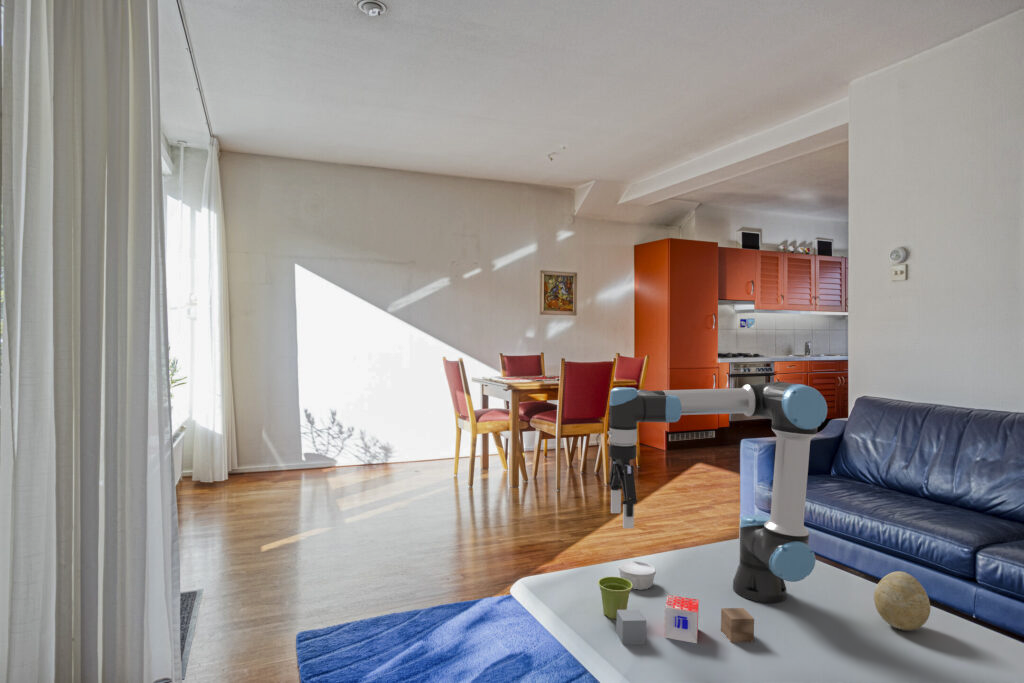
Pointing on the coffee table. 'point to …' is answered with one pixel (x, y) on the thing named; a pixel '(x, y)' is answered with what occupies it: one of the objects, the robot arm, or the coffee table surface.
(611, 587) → the plant pot
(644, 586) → the ramekin
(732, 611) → the walnut block
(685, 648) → the coffee table surface
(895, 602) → the fossilized egg
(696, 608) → the puzzle cube
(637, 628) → the slate grey block
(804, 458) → the robot arm
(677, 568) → the coffee table surface
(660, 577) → the coffee table surface
